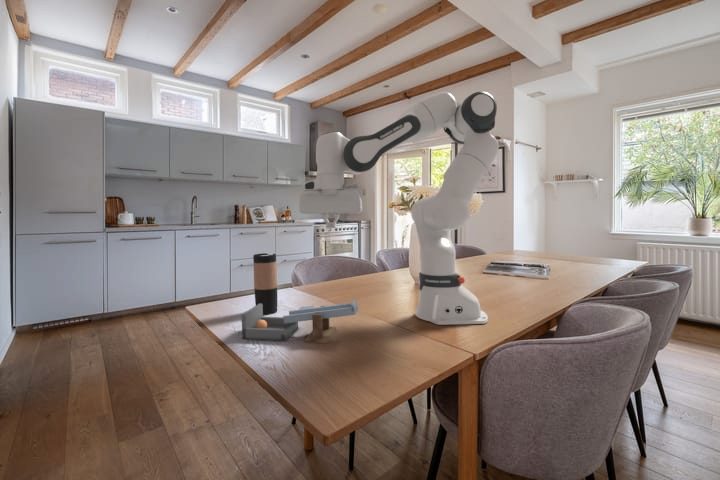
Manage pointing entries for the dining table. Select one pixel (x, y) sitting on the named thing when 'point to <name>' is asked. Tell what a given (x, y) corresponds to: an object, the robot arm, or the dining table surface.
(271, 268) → the travel mug
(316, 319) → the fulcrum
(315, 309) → the lever
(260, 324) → the ball
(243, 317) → the tray
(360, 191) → the robot arm
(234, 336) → the dining table surface
